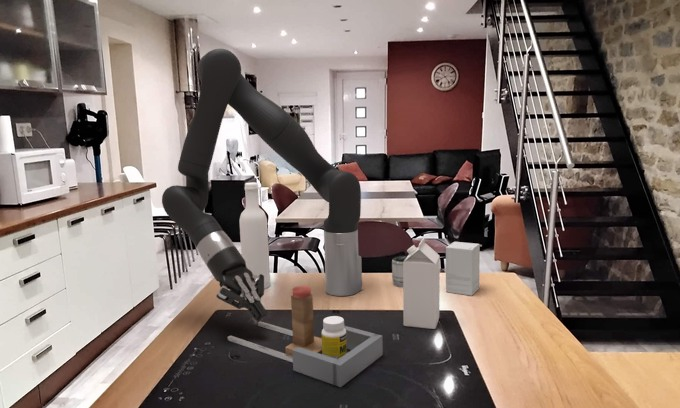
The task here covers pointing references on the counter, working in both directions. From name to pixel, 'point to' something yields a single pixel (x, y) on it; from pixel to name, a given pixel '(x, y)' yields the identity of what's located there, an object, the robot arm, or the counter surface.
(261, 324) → the track
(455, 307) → the counter surface
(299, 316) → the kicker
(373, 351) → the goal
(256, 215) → the bottle
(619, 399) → the counter surface
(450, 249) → the supplement box
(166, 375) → the counter surface
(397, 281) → the camera lens
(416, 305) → the milk carton
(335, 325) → the supplement bottle
